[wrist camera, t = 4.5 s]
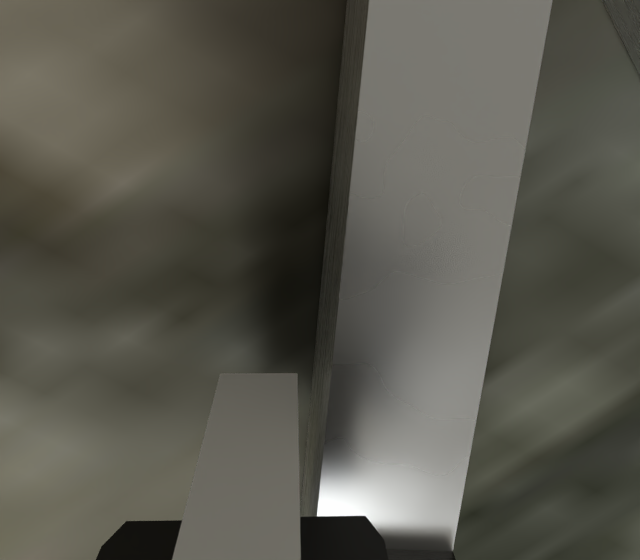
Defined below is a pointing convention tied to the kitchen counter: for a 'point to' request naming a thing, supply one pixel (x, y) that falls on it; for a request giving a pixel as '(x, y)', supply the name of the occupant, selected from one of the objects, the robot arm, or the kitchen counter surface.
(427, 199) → the bar
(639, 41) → the tongs base
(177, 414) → the kitchen counter surface
